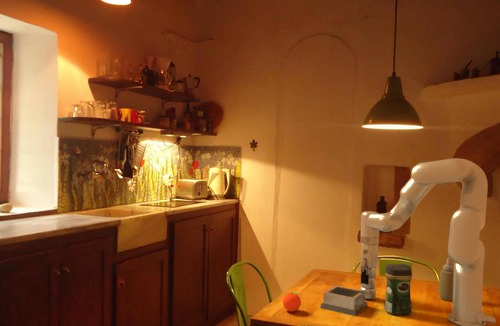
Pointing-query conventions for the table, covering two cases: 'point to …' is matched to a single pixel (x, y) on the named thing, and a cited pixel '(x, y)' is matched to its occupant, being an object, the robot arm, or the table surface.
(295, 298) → the clementine
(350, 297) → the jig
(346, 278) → the table surface
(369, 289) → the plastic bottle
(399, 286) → the coffee jar
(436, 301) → the table surface
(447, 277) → the squeeze bottle
